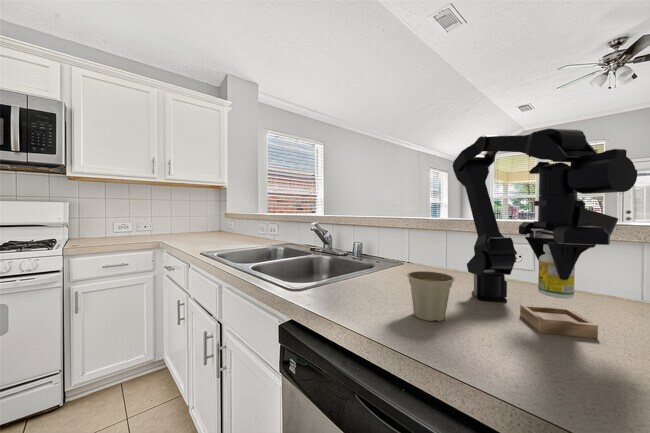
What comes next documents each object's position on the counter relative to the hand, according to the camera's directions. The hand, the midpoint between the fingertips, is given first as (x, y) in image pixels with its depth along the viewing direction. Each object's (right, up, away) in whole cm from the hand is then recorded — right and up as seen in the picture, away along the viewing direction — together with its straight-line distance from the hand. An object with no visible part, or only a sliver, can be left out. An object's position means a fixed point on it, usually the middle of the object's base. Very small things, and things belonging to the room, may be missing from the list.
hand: (555, 275), depth 53 cm
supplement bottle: (0, -4, 0) cm, 4 cm away
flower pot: (-22, -10, +5) cm, 25 cm away
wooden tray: (0, -10, 0) cm, 10 cm away
